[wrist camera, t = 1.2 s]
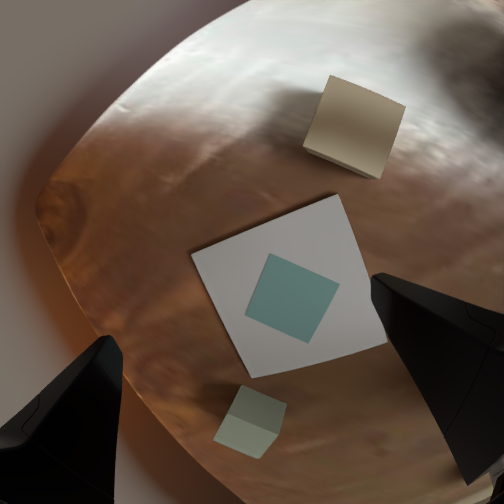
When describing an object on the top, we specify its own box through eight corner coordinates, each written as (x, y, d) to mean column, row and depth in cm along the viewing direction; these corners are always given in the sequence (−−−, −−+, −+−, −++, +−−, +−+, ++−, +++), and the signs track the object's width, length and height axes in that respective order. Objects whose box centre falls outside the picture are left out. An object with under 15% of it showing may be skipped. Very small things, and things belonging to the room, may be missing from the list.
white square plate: (337, 193, 23) (337, 193, 22) (386, 337, 25) (387, 342, 24) (194, 252, 28) (190, 254, 27) (253, 373, 29) (251, 379, 29)
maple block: (330, 94, 21) (330, 74, 17) (391, 120, 21) (405, 106, 16) (308, 152, 23) (302, 145, 18) (370, 179, 22) (379, 179, 18)
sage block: (242, 383, 30) (227, 413, 26) (287, 403, 30) (278, 434, 25) (227, 411, 32) (213, 440, 27) (268, 429, 31) (258, 459, 27)
